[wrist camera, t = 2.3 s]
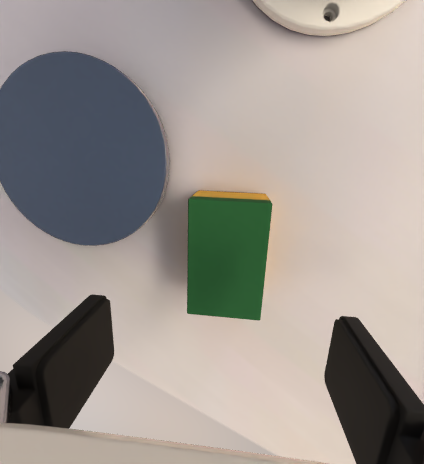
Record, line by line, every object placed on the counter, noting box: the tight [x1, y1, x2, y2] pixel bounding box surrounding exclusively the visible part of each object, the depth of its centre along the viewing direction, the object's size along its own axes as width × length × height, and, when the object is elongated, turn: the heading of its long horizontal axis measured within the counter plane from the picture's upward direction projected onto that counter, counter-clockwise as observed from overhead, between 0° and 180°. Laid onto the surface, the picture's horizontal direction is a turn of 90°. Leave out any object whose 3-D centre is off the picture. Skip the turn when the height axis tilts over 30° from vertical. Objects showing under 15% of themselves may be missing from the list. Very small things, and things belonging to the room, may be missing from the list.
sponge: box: [187, 191, 272, 320], centre depth 18 cm, size 8×5×4 cm, turn 178°
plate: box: [0, 51, 170, 246], centre depth 19 cm, size 13×13×2 cm
